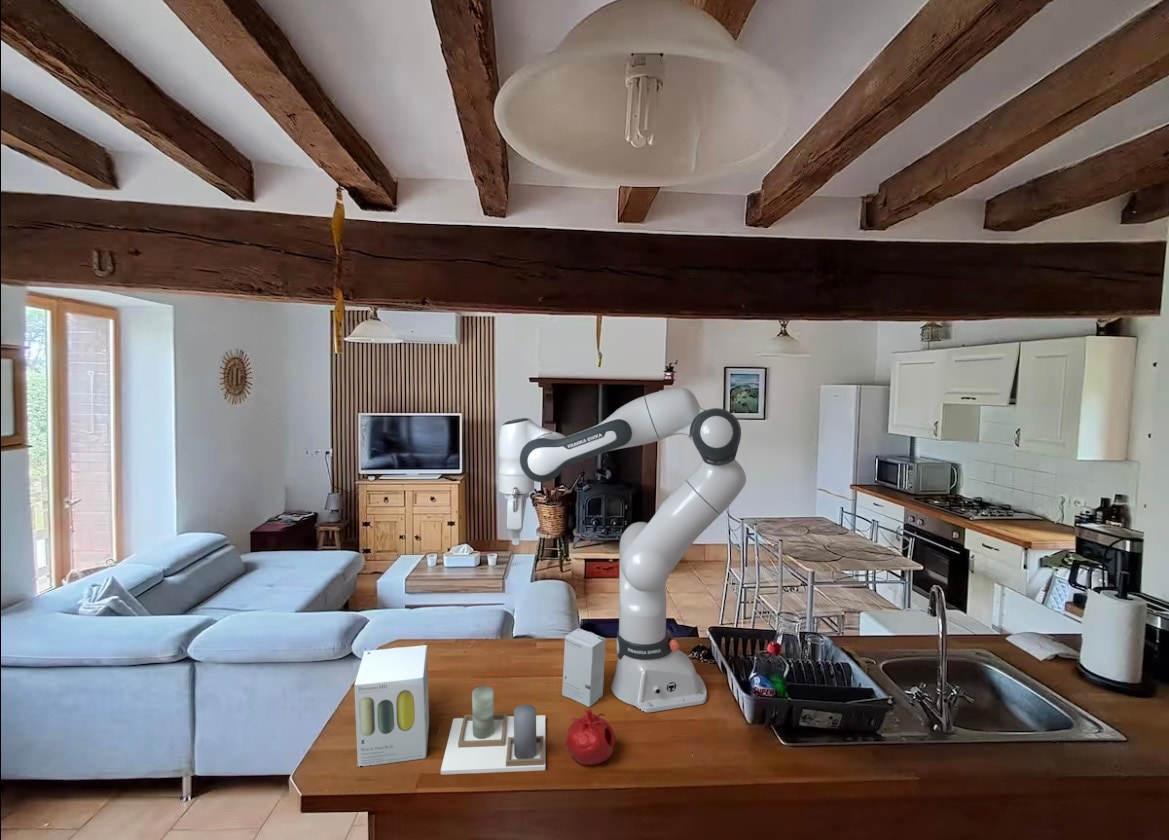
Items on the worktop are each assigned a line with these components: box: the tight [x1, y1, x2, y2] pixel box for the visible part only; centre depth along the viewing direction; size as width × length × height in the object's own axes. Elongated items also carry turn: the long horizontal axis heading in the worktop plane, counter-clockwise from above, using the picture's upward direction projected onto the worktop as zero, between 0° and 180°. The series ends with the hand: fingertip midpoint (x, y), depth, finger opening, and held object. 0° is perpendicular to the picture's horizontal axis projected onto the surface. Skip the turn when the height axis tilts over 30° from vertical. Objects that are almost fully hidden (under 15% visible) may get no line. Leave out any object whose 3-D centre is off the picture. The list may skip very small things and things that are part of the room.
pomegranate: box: [565, 708, 616, 766], centre depth 117 cm, size 10×10×9 cm
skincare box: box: [561, 628, 607, 708], centre depth 137 cm, size 8×6×15 cm
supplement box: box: [354, 644, 430, 768], centre depth 120 cm, size 13×13×18 cm
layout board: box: [440, 703, 546, 776], centre depth 120 cm, size 20×16×10 cm
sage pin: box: [471, 685, 495, 739], centre depth 123 cm, size 4×4×9 cm
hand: (516, 537), depth 146 cm, fingers open, 8 cm apart
